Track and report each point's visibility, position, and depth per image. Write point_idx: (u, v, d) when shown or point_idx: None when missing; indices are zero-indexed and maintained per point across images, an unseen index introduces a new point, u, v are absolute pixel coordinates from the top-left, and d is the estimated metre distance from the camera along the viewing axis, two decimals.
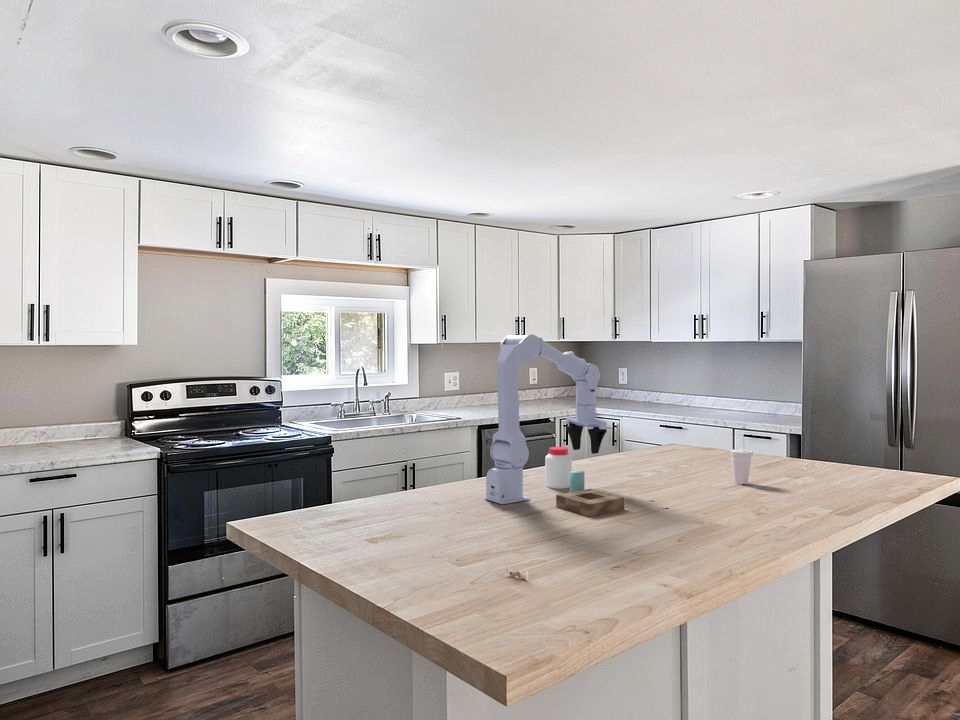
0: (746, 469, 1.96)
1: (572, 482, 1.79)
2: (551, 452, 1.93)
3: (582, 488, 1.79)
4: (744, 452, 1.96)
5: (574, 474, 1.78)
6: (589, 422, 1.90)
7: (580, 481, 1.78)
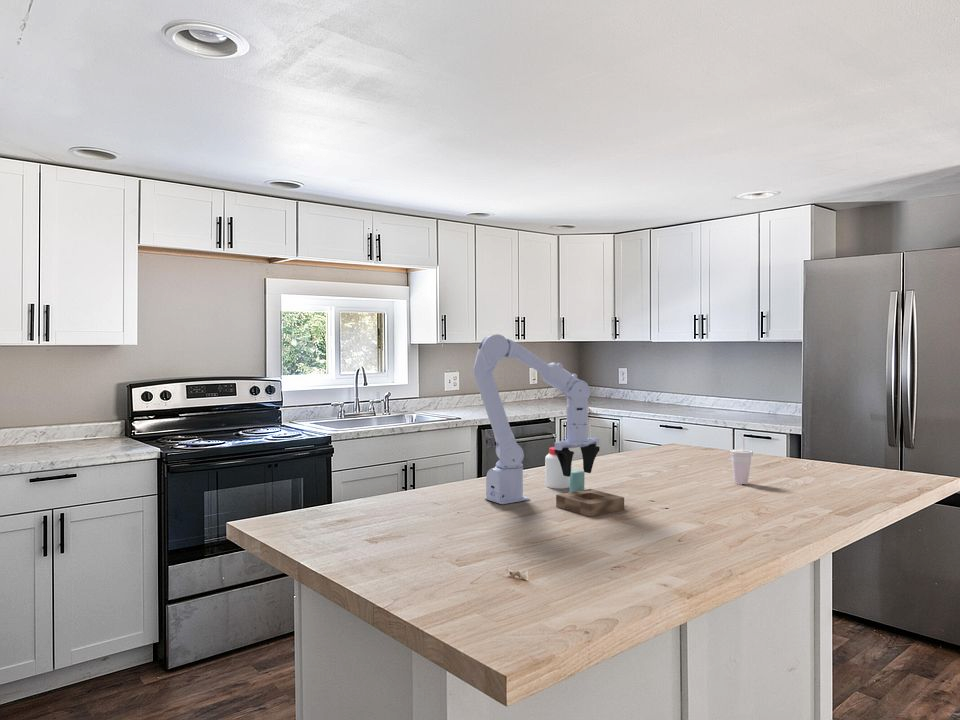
0: (746, 469, 1.96)
1: (572, 482, 1.79)
2: (551, 452, 1.93)
3: (582, 488, 1.79)
4: (744, 452, 1.96)
5: (574, 474, 1.78)
6: None
7: (580, 481, 1.78)
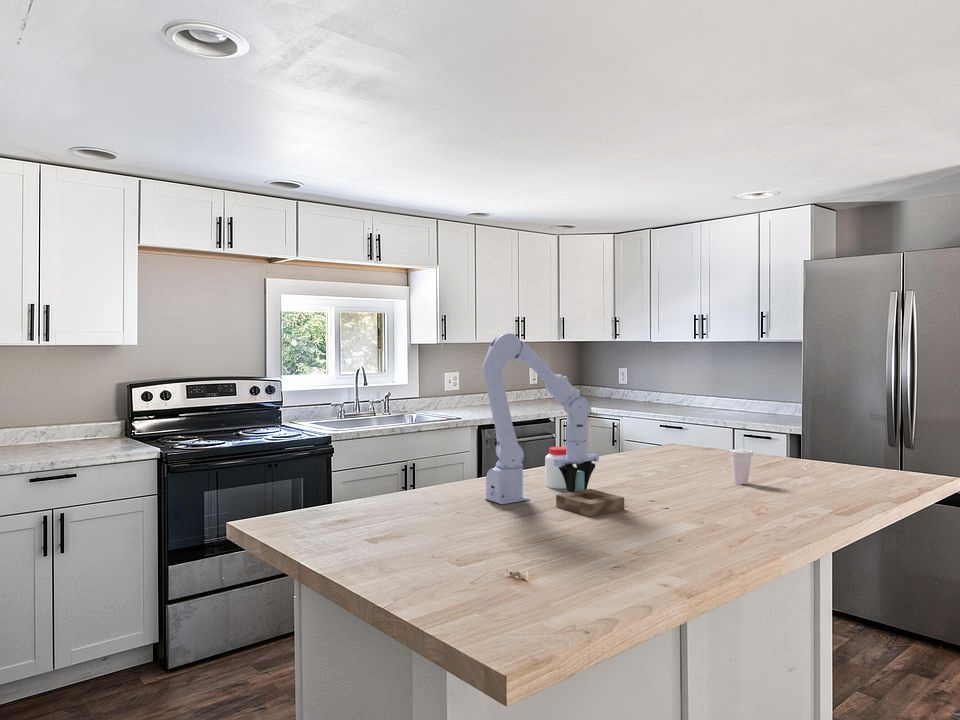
0: (746, 469, 1.96)
1: None
2: (551, 452, 1.93)
3: (582, 488, 1.79)
4: (744, 452, 1.96)
5: None
6: None
7: (580, 481, 1.78)
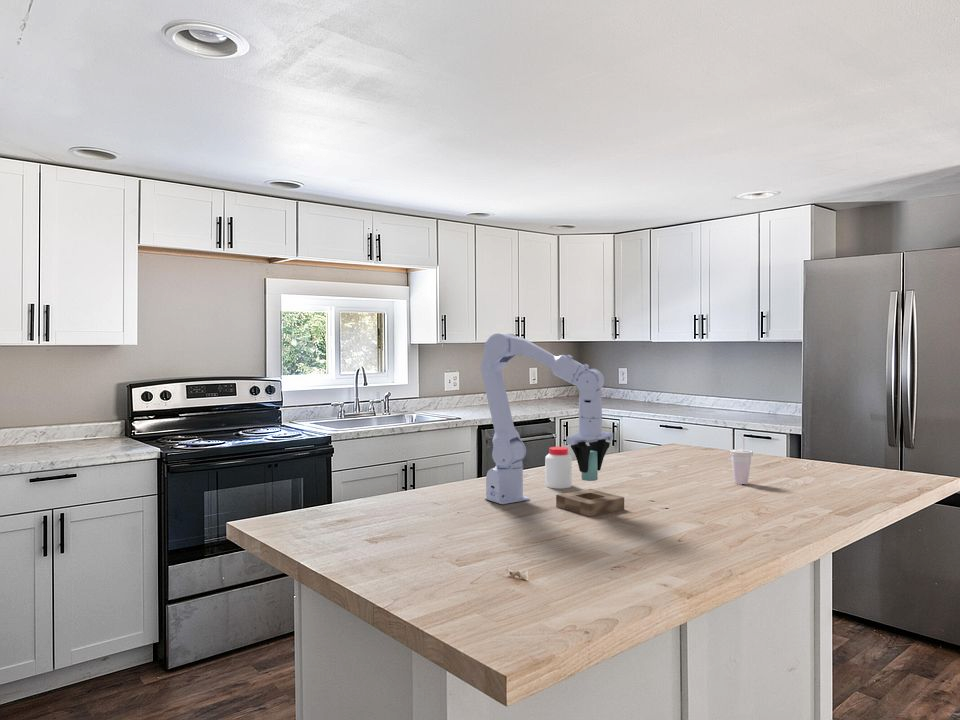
0: (746, 469, 1.96)
1: None
2: (551, 452, 1.93)
3: (595, 469, 1.68)
4: (744, 452, 1.96)
5: None
6: None
7: (592, 461, 1.67)
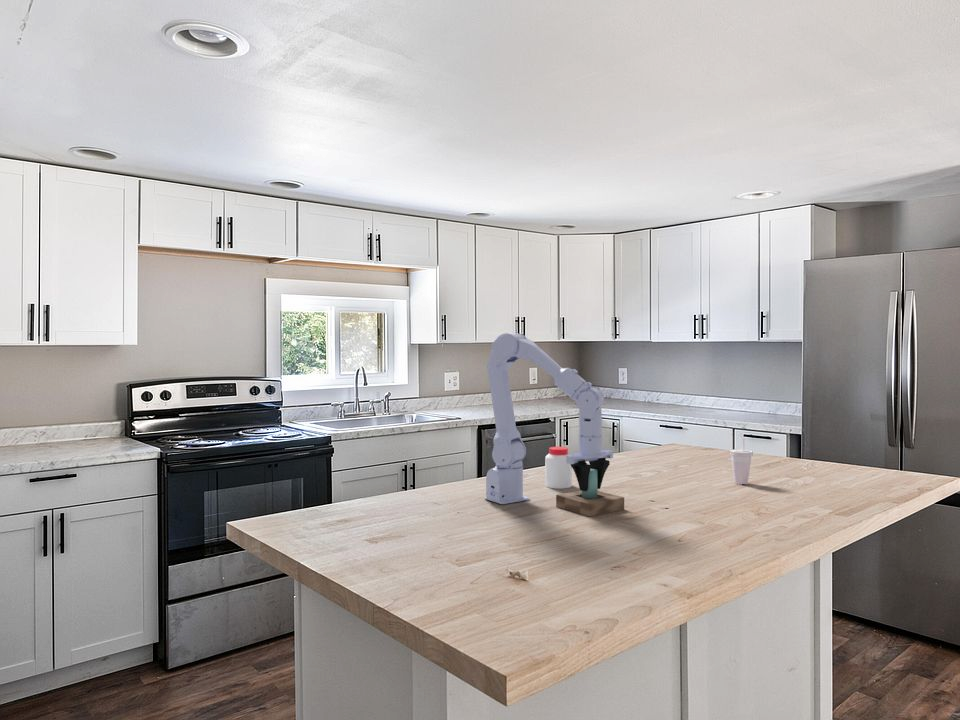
0: (746, 469, 1.96)
1: None
2: (551, 452, 1.93)
3: (595, 487, 1.68)
4: (744, 452, 1.96)
5: None
6: None
7: (592, 479, 1.67)
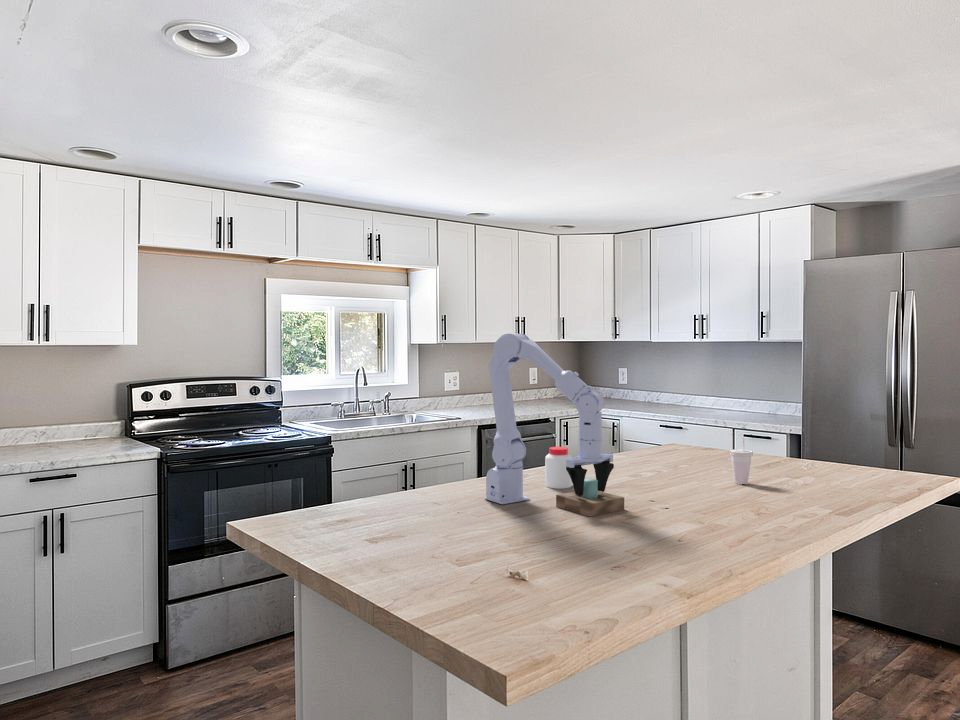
0: (746, 469, 1.96)
1: (584, 491, 1.68)
2: (551, 452, 1.93)
3: (595, 498, 1.68)
4: (744, 452, 1.96)
5: (586, 483, 1.68)
6: None
7: (592, 490, 1.67)
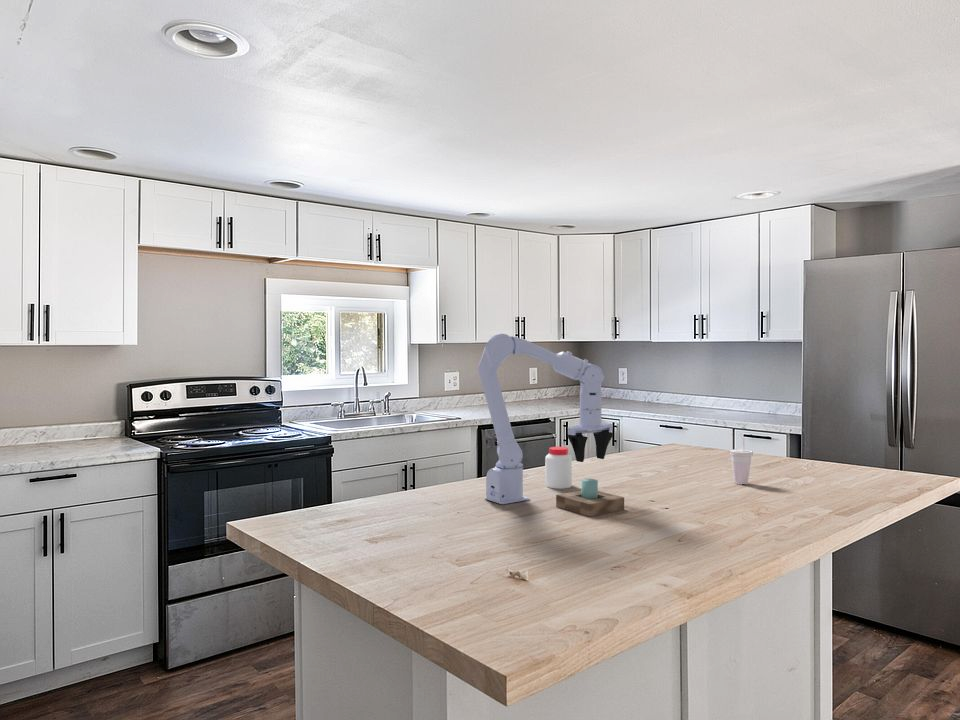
0: (746, 469, 1.96)
1: (584, 491, 1.68)
2: (551, 452, 1.93)
3: (595, 498, 1.68)
4: (744, 452, 1.96)
5: (586, 483, 1.68)
6: None
7: (592, 490, 1.67)
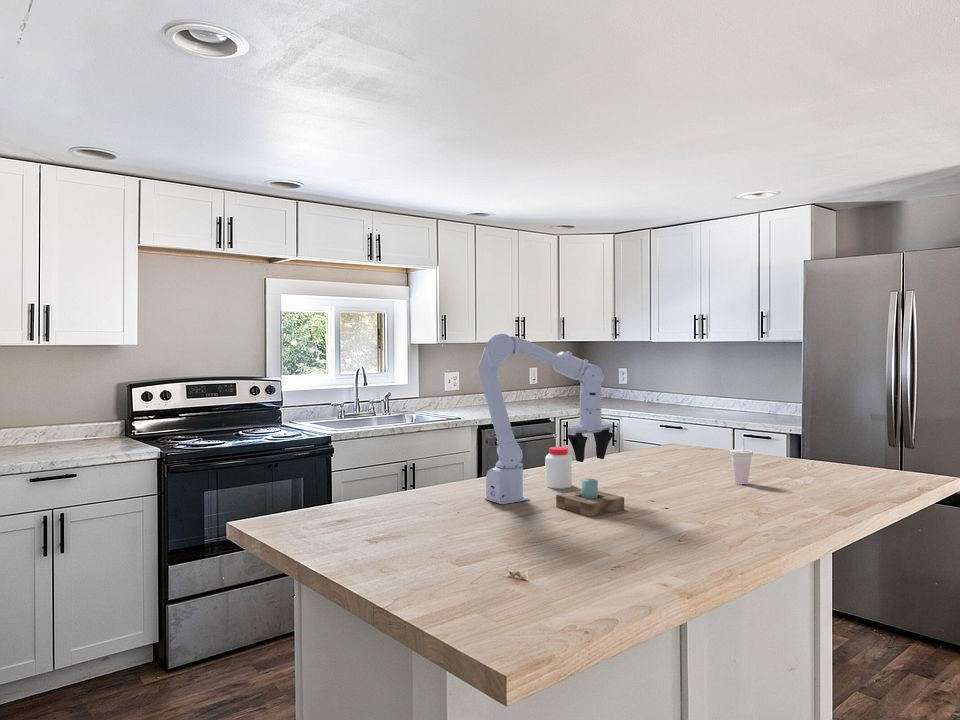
0: (746, 469, 1.96)
1: (584, 491, 1.68)
2: (551, 452, 1.93)
3: (595, 498, 1.68)
4: (744, 452, 1.96)
5: (586, 483, 1.68)
6: None
7: (592, 490, 1.67)
